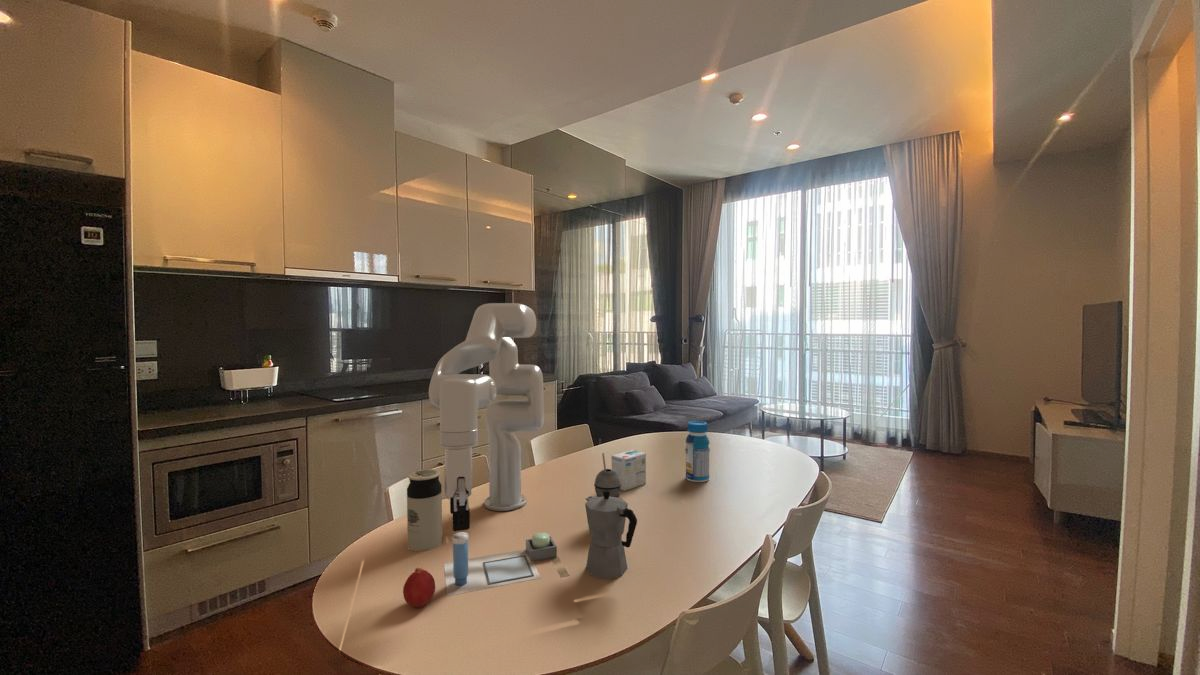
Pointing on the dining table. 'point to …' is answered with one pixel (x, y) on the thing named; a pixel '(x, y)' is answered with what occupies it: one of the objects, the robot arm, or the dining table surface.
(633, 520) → the coffeepot
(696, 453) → the beverage bottle
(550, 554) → the button housing
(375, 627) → the dining table surface
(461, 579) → the marker
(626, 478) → the light bulb box
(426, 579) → the onion
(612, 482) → the beverage cup
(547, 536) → the button
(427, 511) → the travel mug
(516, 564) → the clipboard
